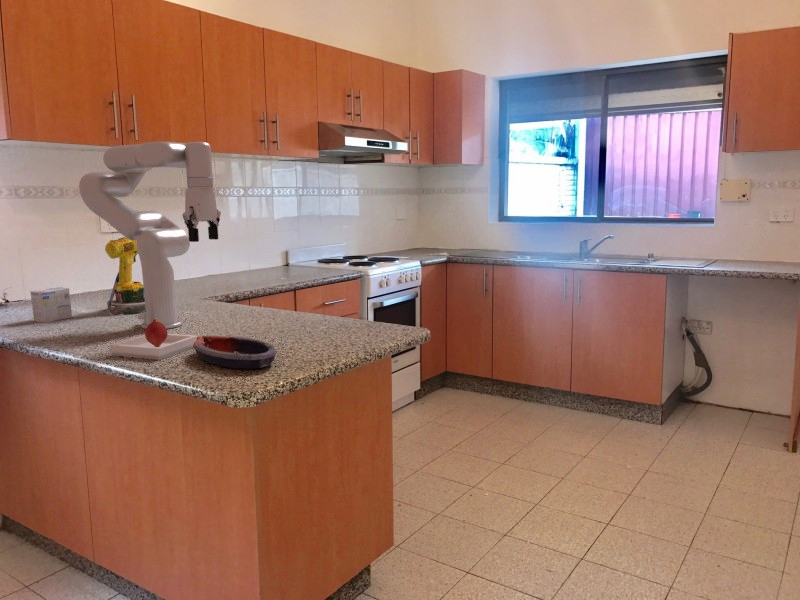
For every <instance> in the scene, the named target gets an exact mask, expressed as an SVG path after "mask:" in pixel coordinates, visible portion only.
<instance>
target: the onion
mask: <svg viewBox="0 0 800 600" xmlns="http://www.w3.org/2000/svg"><path fill="white" fill-rule="evenodd" d="M144 330H145V331H144V335H145V337H146V339H147V341H148V342H149V343H151V344H152V345H154V346H155V347H159V346H160V345H161V344H162V343H163V342H164V341H165V340H166V338H167V335H168V334H169V333H168V330H167V329H166V327H165V326H164V325H163V324H162V323H160V322H158V320H157V319H156V318H155V319H154V320H153V322H152V323H150V324H149V325H148V326H147V328H146V329H144Z"/></svg>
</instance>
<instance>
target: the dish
mask: <svg viewBox="0 0 800 600" xmlns="http://www.w3.org/2000/svg"><path fill="white" fill-rule="evenodd" d="M192 349H193V350H194V351H195V353H196V355H197V356H198V357H199V358H200V359H201V360H202V361H204V362H206V363H207V362H208V363H209V364H212V365H215V366H219V367H223V368H228V369H229V368H230V369H237V370H255V369H260V368H265V367H268V366H270V365H271V364H272V363H273V362H274V360H275V357H276V355H277V349H276V348H275V346H274V345H272V344H270V343H268V342H265V341H263V340H258V339H254V338H249V337H243V336H242V337H241V336H229V335H228V336H226V335H225V336H223V335H202V336H198V337H197V339H196V341H195V342H194V344H193V348H192Z"/></svg>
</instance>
